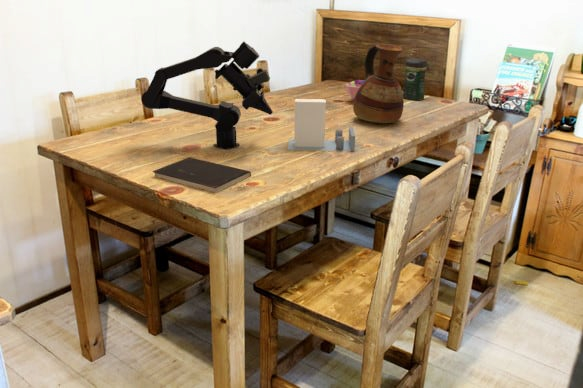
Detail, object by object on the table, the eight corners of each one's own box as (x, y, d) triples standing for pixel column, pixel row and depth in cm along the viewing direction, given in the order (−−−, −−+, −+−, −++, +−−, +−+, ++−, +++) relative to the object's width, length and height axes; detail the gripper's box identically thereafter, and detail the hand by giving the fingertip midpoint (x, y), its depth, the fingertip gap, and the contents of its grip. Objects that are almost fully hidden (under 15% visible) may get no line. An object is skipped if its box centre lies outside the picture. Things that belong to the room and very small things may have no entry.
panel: (294, 146, 183) (294, 101, 177) (294, 142, 187) (295, 98, 181) (324, 147, 182) (325, 102, 177) (324, 143, 186) (325, 99, 181)
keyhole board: (287, 152, 179) (287, 134, 177) (289, 142, 191) (289, 125, 188) (355, 154, 179) (356, 136, 177) (352, 143, 190) (353, 126, 188)
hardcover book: (215, 195, 146) (215, 187, 145) (153, 178, 157) (152, 170, 157) (251, 177, 159) (251, 170, 158) (191, 163, 170) (190, 156, 169)
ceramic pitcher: (379, 130, 207) (385, 48, 195) (341, 119, 221) (345, 42, 210) (412, 122, 218) (420, 44, 207) (375, 112, 233) (379, 39, 221)
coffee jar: (426, 99, 259) (430, 58, 252) (417, 101, 253) (421, 60, 247) (409, 95, 265) (412, 56, 258) (399, 98, 260) (403, 58, 253)
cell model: (338, 99, 257) (340, 74, 253) (377, 96, 262) (379, 73, 258) (353, 107, 242) (354, 81, 238) (394, 104, 247) (396, 79, 243)
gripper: (252, 65, 166) (288, 102, 170) (257, 57, 183) (290, 90, 187) (226, 91, 169) (263, 126, 173) (234, 80, 187) (267, 112, 190)
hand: (271, 113), depth 181 cm, fingers closed
